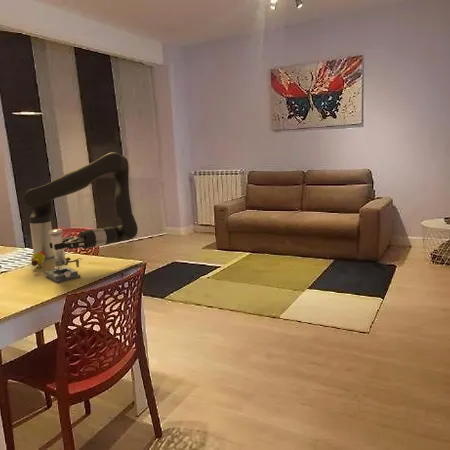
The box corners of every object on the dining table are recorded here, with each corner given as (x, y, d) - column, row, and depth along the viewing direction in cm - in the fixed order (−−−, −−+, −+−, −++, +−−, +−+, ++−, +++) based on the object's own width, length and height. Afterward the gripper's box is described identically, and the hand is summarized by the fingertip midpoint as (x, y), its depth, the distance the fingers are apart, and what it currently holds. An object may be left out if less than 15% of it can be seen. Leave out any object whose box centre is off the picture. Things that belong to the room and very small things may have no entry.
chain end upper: (44, 276, 166) (43, 269, 165) (66, 271, 172) (65, 264, 172) (56, 282, 158) (55, 274, 158) (78, 276, 164) (77, 269, 164)
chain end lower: (46, 277, 165) (45, 270, 164) (68, 272, 171) (67, 265, 170) (58, 283, 157) (57, 275, 156) (80, 277, 163) (79, 270, 162)
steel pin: (51, 264, 163) (46, 231, 160) (63, 261, 167) (58, 228, 164) (57, 267, 160) (51, 232, 157) (69, 263, 163) (64, 230, 160)
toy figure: (36, 262, 187) (34, 248, 186) (49, 261, 188) (47, 247, 187) (27, 274, 170) (25, 258, 169) (41, 272, 171) (39, 257, 170)
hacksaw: (65, 260, 192) (65, 257, 191) (88, 257, 195) (88, 254, 195) (63, 274, 169) (62, 271, 169) (89, 271, 172) (88, 268, 172)
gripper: (84, 227, 176) (43, 234, 164) (100, 231, 166) (58, 239, 154) (85, 244, 177) (46, 252, 166) (102, 249, 168) (60, 258, 156)
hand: (52, 246), depth 160 cm, fingers closed on steel pin, 4 cm apart
